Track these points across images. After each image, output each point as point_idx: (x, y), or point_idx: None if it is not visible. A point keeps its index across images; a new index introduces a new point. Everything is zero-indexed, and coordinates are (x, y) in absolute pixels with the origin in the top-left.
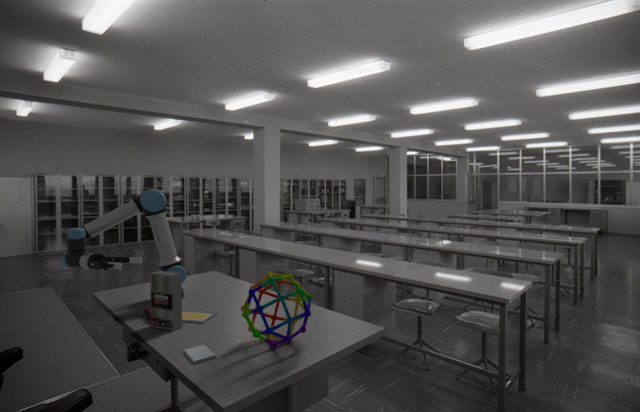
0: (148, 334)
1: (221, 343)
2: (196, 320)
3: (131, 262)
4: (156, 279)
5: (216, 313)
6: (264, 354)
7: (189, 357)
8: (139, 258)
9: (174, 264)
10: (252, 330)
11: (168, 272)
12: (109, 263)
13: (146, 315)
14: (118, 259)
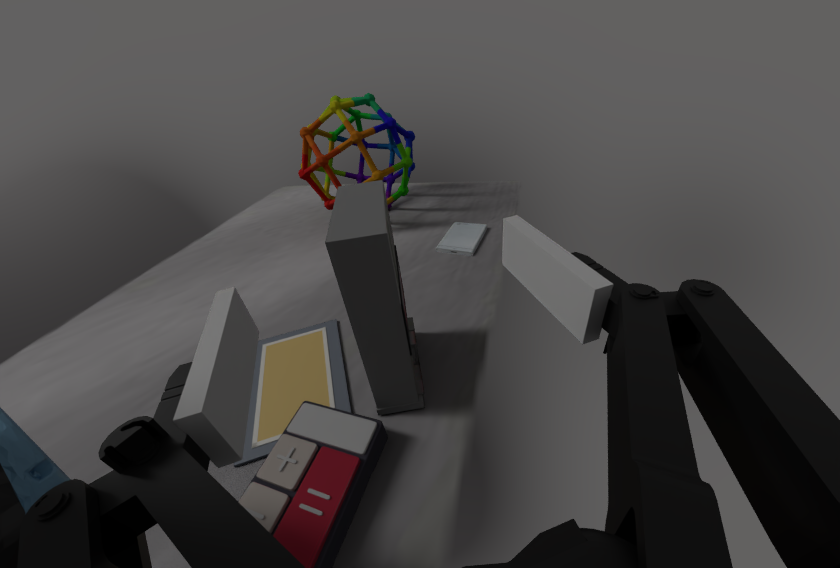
0: (465, 360)
1: (410, 245)
2: (326, 339)
3: (244, 423)
4: (390, 237)
5: None
6: (409, 206)
7: (481, 238)
8: (234, 302)
9: None
10: (406, 184)
11: (342, 208)
12: (593, 278)
13: (340, 540)
14: (295, 562)
